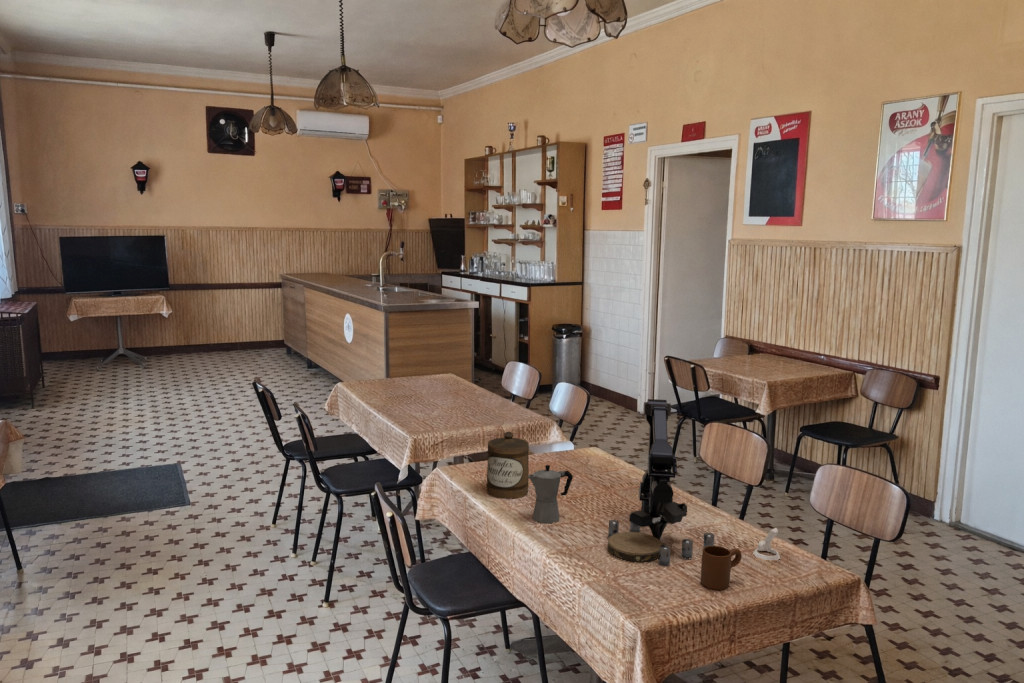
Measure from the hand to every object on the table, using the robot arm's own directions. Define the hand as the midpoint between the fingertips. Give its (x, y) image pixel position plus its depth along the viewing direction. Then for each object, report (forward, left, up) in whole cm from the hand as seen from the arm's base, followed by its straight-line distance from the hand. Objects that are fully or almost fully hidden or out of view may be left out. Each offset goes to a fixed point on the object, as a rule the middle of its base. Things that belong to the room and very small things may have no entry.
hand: (657, 541), depth 229 cm
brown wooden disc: (0, -9, -2) cm, 9 cm away
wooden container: (-62, -14, -1) cm, 63 cm away
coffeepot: (-34, -16, -1) cm, 37 cm away
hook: (+22, +22, -2) cm, 32 cm away
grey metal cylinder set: (0, +1, -1) cm, 2 cm away
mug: (+27, -3, -1) cm, 28 cm away
